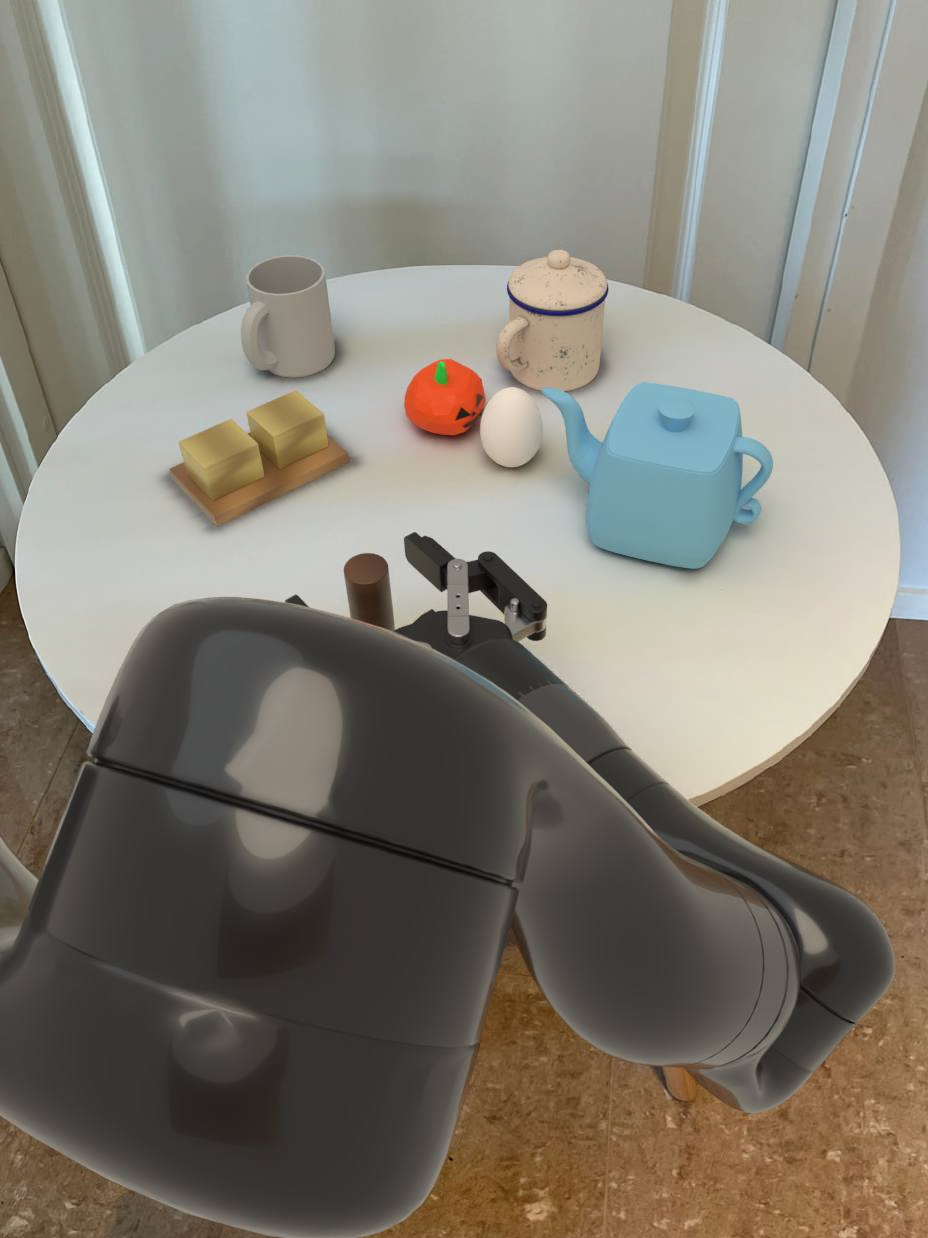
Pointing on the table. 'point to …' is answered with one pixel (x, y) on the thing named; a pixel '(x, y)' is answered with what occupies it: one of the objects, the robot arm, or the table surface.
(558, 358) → the teacup with lid
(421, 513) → the table surface
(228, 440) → the butter
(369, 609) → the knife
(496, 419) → the egg
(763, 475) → the teapot
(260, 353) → the cup
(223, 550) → the table surface
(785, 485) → the table surface
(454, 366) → the pumpkin
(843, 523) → the table surface
